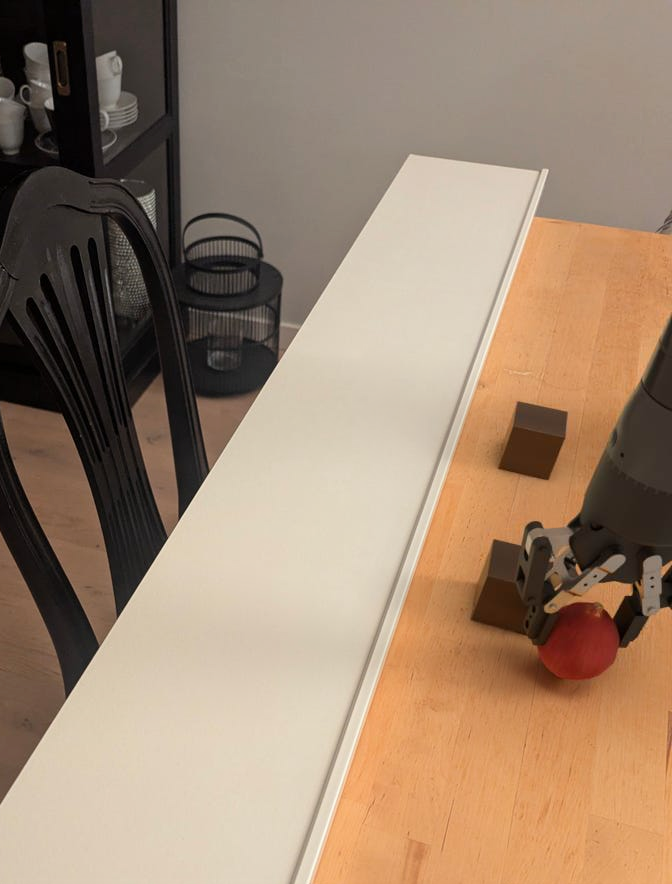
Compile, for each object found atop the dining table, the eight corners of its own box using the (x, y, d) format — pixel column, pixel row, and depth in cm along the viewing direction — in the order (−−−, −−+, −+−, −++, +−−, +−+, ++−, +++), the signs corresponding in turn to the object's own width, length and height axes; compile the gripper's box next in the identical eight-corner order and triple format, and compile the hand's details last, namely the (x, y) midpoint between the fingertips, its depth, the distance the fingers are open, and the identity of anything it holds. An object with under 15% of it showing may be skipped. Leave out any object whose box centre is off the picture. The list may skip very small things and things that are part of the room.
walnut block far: (502, 442, 96) (517, 400, 92) (551, 453, 95) (568, 411, 91) (498, 468, 92) (513, 425, 89) (548, 479, 91) (565, 437, 88)
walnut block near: (477, 582, 80) (493, 538, 76) (535, 597, 79) (554, 553, 75) (470, 619, 77) (487, 575, 73) (531, 635, 76) (551, 591, 72)
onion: (518, 644, 75) (551, 571, 69) (589, 651, 75) (627, 579, 69) (530, 698, 71) (566, 625, 65) (605, 705, 71) (647, 633, 65)
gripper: (577, 487, 55) (496, 673, 67) (805, 495, 56) (684, 677, 68) (542, 419, 61) (472, 603, 73) (751, 427, 61) (648, 608, 73)
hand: (575, 638), depth 70 cm, fingers closed on onion, 6 cm apart
